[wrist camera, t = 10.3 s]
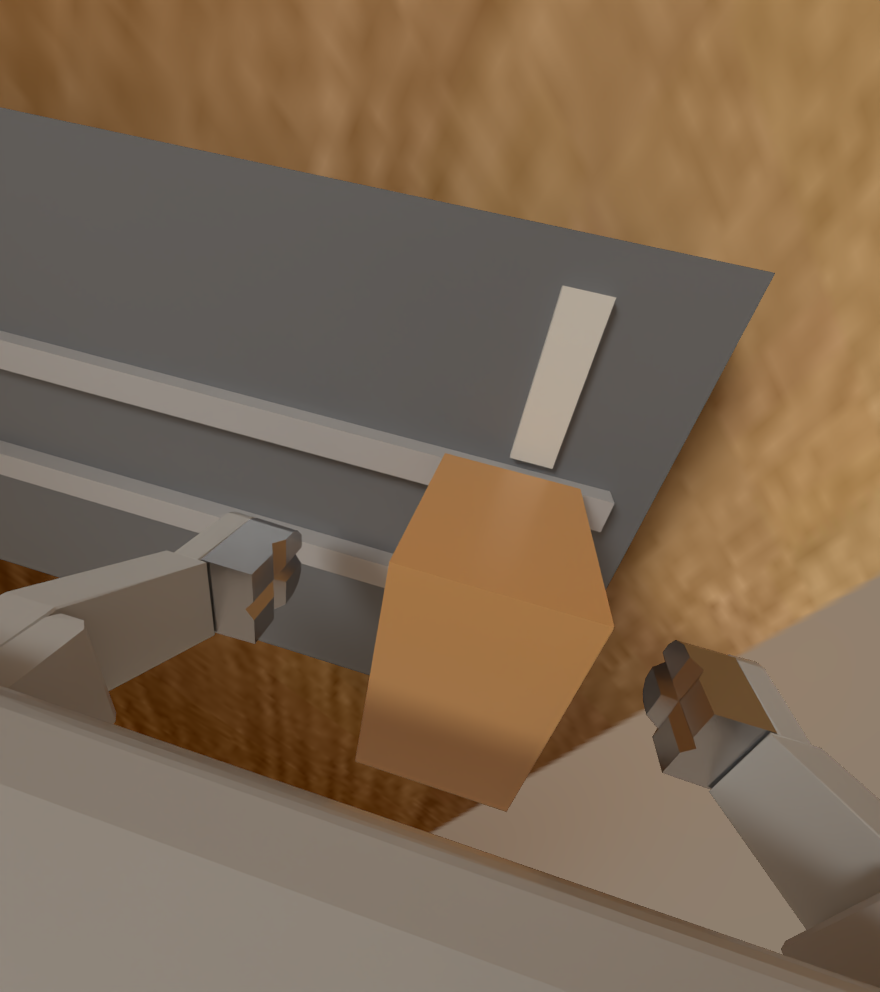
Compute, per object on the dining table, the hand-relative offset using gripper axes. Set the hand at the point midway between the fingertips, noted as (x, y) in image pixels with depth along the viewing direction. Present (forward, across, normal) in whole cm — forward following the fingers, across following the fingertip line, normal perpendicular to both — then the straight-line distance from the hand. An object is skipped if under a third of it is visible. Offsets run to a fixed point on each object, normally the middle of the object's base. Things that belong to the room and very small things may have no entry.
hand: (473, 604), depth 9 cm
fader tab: (+2, 0, 0) cm, 2 cm away
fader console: (+6, +8, 0) cm, 9 cm away
